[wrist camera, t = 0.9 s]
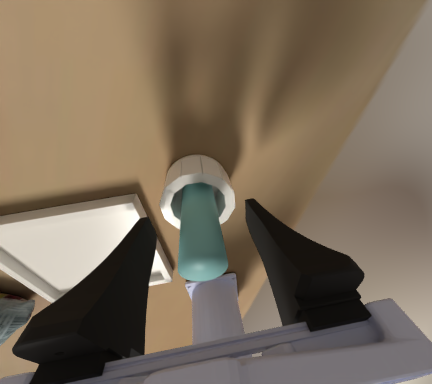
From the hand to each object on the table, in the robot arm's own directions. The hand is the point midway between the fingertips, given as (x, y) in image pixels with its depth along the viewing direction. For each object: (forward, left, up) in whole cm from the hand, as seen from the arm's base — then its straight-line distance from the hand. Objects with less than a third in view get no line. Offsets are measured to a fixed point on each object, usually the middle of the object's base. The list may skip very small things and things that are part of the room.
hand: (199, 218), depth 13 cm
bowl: (0, 0, -5) cm, 5 cm away
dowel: (0, 0, -4) cm, 4 cm away
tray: (-7, +14, -5) cm, 16 cm away
